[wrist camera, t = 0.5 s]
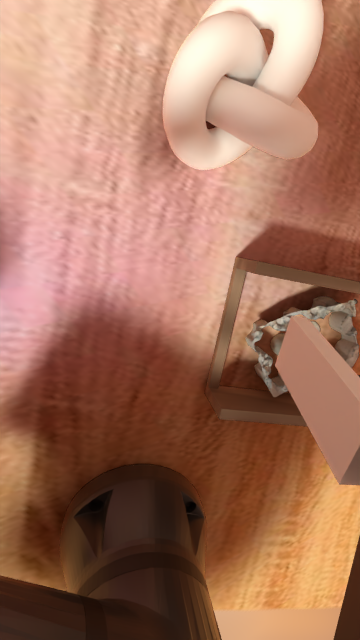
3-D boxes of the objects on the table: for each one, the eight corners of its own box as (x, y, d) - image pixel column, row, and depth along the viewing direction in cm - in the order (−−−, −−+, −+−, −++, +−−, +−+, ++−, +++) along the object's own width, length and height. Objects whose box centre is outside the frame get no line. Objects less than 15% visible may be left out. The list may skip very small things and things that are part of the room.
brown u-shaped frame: (326, 405, 38) (357, 430, 33) (204, 393, 34) (219, 419, 30) (365, 283, 35) (405, 291, 30) (236, 256, 31) (257, 261, 27)
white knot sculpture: (193, 215, 30) (225, 208, 21) (119, 75, 26) (122, -1, 18) (300, 150, 30) (373, 118, 22) (242, 3, 26) (303, -106, 18)
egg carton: (334, 288, 35) (363, 294, 31) (343, 353, 37) (371, 367, 33) (239, 320, 33) (256, 331, 30) (254, 385, 36) (272, 404, 32)
